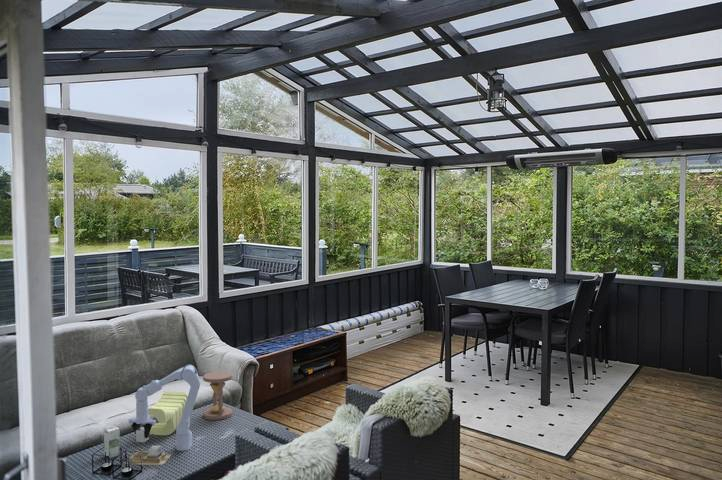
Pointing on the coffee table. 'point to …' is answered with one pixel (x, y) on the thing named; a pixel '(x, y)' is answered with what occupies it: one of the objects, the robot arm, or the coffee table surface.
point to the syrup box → (112, 441)
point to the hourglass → (217, 385)
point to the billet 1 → (141, 435)
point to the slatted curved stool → (168, 412)
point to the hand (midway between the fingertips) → (142, 437)
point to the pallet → (148, 459)
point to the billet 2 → (154, 451)
